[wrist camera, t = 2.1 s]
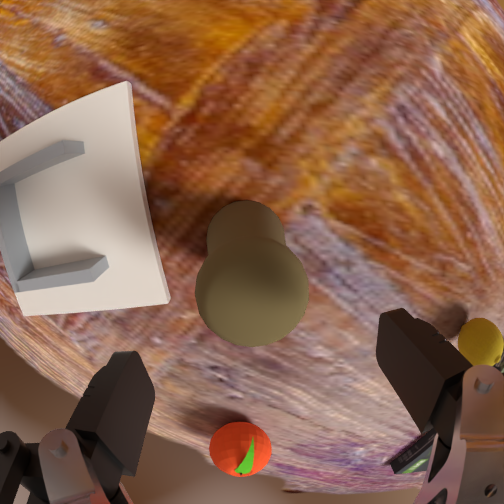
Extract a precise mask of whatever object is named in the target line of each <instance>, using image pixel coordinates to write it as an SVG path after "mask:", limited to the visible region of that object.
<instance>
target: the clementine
mask: <svg viewBox="0 0 504 504" xmlns="http://www.w3.org/2000/svg"><path fill="white" fill-rule="evenodd" d="M209 451H210V456H211V458H212V460H213V462H214V464H215V465H216V466H217V467H218V468H219V469H220V470H221V471H223V472H225V473H227V474H230V475H233V476H238V477H242V476H249V475H252V474H255V473H256V472H258V471H260V470H261V469H263V468H264V466H265V465H266V464H267V463H268V461H269V459H270V456H271V443H270V439H269V438H268V436H267V435H266V433H265V432H264V431H263V430H262V429H260V428H259V427H257V426H256V425H254V424H251V423H247V422H233V423H228V424H226V425H224V426H223V427H221V428H220V429H218V430H217V431H216V432H215V434H214V435H213V437H212V438H211V441H210V446H209Z"/></svg>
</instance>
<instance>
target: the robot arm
mask: <svg viewBox="0 0 504 504" xmlns="http://www.w3.org/2000/svg"><path fill="white" fill-rule="evenodd" d="M376 357H377V362H378V365H379V367H380V368H381V370H382V371H383V373H384V374H385V376H386V377H387V379H388V381H389V382H390V384H391V385H392V387H393V388H394V390H395V391H396V393H397V395H398V396H399V398H400V399H401V401H402V403H403V404H404V406H405V407H406V409H407V411H408V412H409V414H410V415H411V417H412V419H413V420H414V422H415V424H416V425H417V427H418V429H419V430H420V432H421V433H424V432H426V431H428V430H430V429H432V428H434V429H435V430H436V432H437V434H436V436H435V438H434V443H433V447H432V452H431V456H430V460H429V464H428V468H427V472H426V475H425V479H424V482H423V485H422V488H421V490H420V492H419V494H418V496H417V498H416V499H415V501H414V503H413V504H504V372H503V373H501V372H500V371H499V370H498V369H496V368H495V367H492V366H490V365H484V364H483V365H476V366H473V365H472V364H471V363H470V362H469V361H468V360H467V359H466V358H465V357H464V356H463V355H462V354H461V353H460V352H459V351H458V350H457V349H456V348H455V347H454V346H453V345H452V344H451V343H450V342H449V341H446V338H445V337H444V336H443V335H442V334H439V332H438V331H437V330H436V329H435V328H434V327H433V326H432V325H431V324H429V323H427V322H425V321H423V320H421V319H419V318H416V319H414V318H413V317H412V316H411V315H410V314H409V313H408V312H407V311H406V310H405V309H404V308H399V309H395V310H392V311H388V312H384V313H382V314H381V315H380V318H379V327H378V337H377V346H376ZM154 401H155V390H154V386H153V384H152V381H151V379H150V377H149V375H148V373H147V371H146V368H145V366H144V364H143V362H142V359H141V357H140V355H139V354H138V352H136V351H122V352H114V353H113V355H112V356H111V358H110V360H109V362H108V364H107V365H106V366H103V367H102V368H101V369H100V370H99V371H98V372H97V373H96V374H95V375H94V376H93V378H92V379H91V381H90V383H89V385H88V388H86V390H85V392H84V394H83V397H81V399H80V401H79V403H78V405H77V407H76V409H75V411H74V413H73V415H72V416H71V418H70V420H69V422H68V424H67V426H66V428H65V429H55V430H53V431H50V432H49V433H47V434H46V435H45V436H44V437H43V438H42V440H41V442H40V443H27V444H26V443H24V442H23V441H22V440H21V439H20V438H19V437H18V436H17V434H16V433H14V432H11V431H6V432H3V433H1V434H0V504H13V502H14V499H15V496H16V493H17V491H18V488H19V485H20V484H21V485H22V486H23V487H25V488H26V489H27V490H28V491H30V495H29V498H28V502H27V504H133V502H132V501H131V500H130V497H129V496H128V494H127V492H126V490H125V488H124V487H123V485H122V484H121V483H120V478H121V475H128V476H135V474H136V470H137V466H138V462H139V458H140V454H141V450H142V446H143V442H144V438H145V434H146V430H147V427H148V423H149V419H150V416H151V412H152V409H153V405H154Z"/></svg>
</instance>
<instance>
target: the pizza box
mask: <svg viewBox="0 0 504 504" xmlns="http://www.w3.org/2000/svg"><path fill="white" fill-rule="evenodd" d="M492 367H495V368H496V369H498V370H499V371H500V372H501V373H503V372H504V348H503V352H502V355H501V360H500V361H499V363H496V364H494V365H493V366H492ZM436 434H437V432H436V430H435V429H434V428H432V429H431V430H430V431H429V432H428V433H427V434H426V435H424V436H423V437H422V438H421V439H420V440H419V441H417V442H416V443H415V444H414V445H413V446H411V447H410V448H409V449H408V450H407V451H405V452H404V453H403V454H402V455H400V456H399V457H398V458H396V459H395V460H394V461H392V462H391V463H390V465H391V467H392V469H393V471H394V474H402V473H412V472H420V471H427V468H428V464H429V460H430V456H431V452H432V447H433V443H434V438H435V436H436Z"/></svg>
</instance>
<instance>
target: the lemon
mask: <svg viewBox="0 0 504 504" xmlns="http://www.w3.org/2000/svg"><path fill="white" fill-rule="evenodd" d="M458 348H459V351H460V353H461V354H462V355H463V356H464V357H465V358H466V359H467V360H468V361H469V362H470V363H471V364H472V365H473V366H476V365H483V364H484V365H490V366H493V365H494V364H496V363H499V361H500V360H501V355H502V352H503V348H504V340H503V337H502V334H501V332H500V330H499V329H498V328H497V326H496V325H495V324H494V323H492V322H491V321H489V320H487V319H485V318H474V319H472V320H470V321H468V322H467V323H466V324H465V325H463V326H462V327H461V331H460V334H459V337H458Z"/></svg>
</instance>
